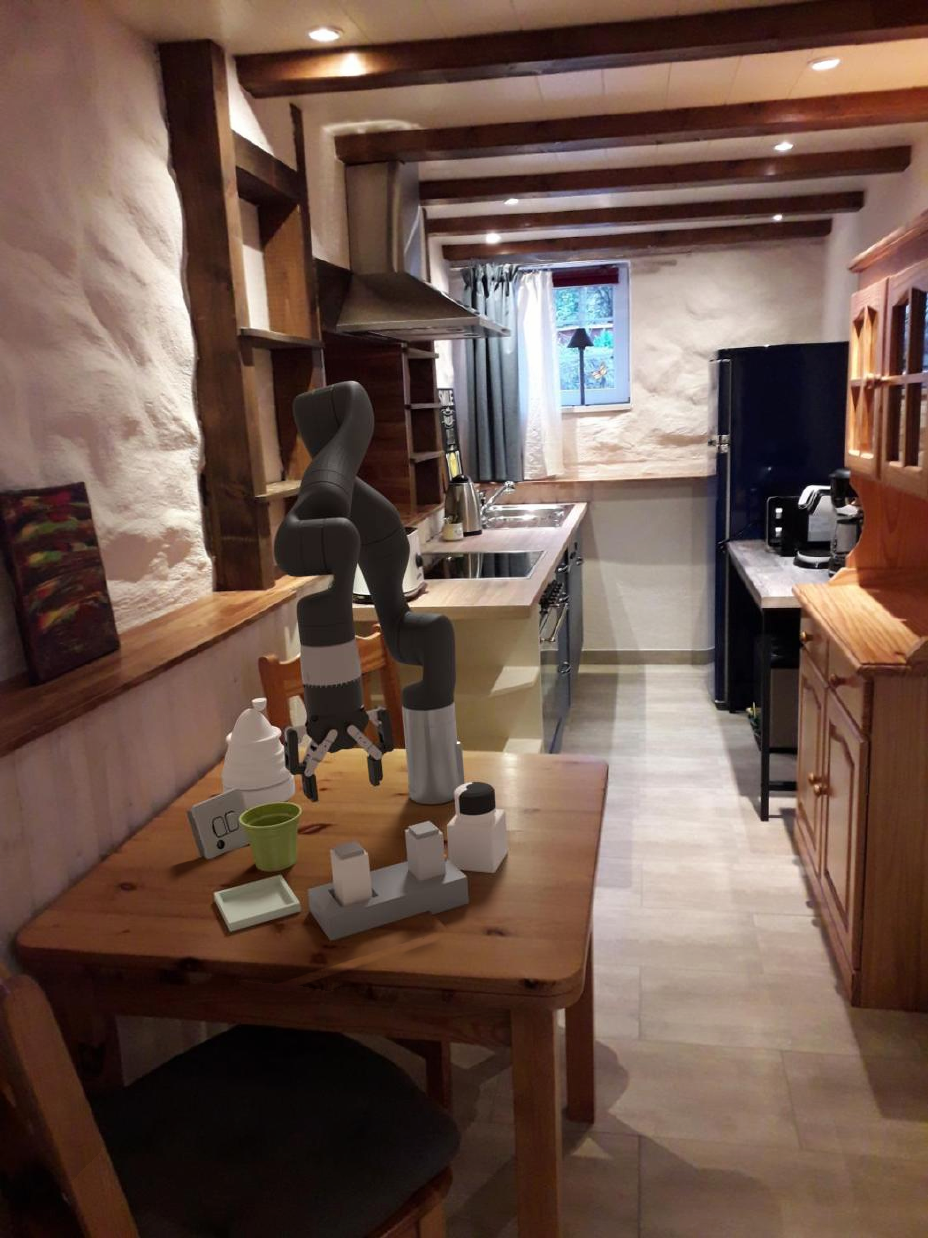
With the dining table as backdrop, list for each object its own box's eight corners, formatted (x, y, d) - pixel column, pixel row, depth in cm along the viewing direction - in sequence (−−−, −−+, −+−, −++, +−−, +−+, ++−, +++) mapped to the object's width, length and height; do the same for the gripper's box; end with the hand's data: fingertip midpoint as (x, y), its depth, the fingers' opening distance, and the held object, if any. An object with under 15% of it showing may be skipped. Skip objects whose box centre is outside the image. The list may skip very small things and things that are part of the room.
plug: (363, 902, 131) (357, 838, 129) (374, 915, 128) (367, 849, 126) (336, 911, 130) (329, 846, 128) (346, 924, 126) (339, 857, 124)
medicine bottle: (508, 852, 146) (503, 779, 143) (494, 874, 139) (489, 798, 136) (464, 848, 148) (459, 776, 145) (449, 869, 141) (443, 794, 139)
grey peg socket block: (441, 877, 139) (436, 809, 137) (468, 903, 131) (463, 832, 129) (310, 915, 131) (302, 845, 129) (331, 946, 123) (323, 871, 121)
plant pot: (240, 861, 149) (233, 810, 147) (299, 847, 152) (293, 796, 150) (252, 886, 140) (245, 832, 138) (314, 871, 144) (308, 817, 142)
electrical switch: (210, 865, 148) (199, 808, 147) (191, 860, 152) (180, 804, 150) (257, 842, 156) (247, 788, 154) (238, 838, 159) (228, 785, 157)
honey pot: (281, 776, 183) (271, 687, 180) (305, 797, 173) (294, 703, 169) (216, 793, 177) (203, 701, 173) (236, 816, 166) (223, 718, 163)
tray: (282, 887, 140) (280, 874, 139) (301, 916, 131) (300, 903, 131) (215, 905, 135) (213, 892, 135) (230, 937, 127) (229, 923, 126)
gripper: (372, 658, 128) (384, 771, 131) (269, 678, 122) (284, 796, 125) (394, 670, 121) (405, 788, 125) (285, 692, 115) (300, 815, 119)
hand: (344, 792), depth 125 cm, fingers open, 8 cm apart
